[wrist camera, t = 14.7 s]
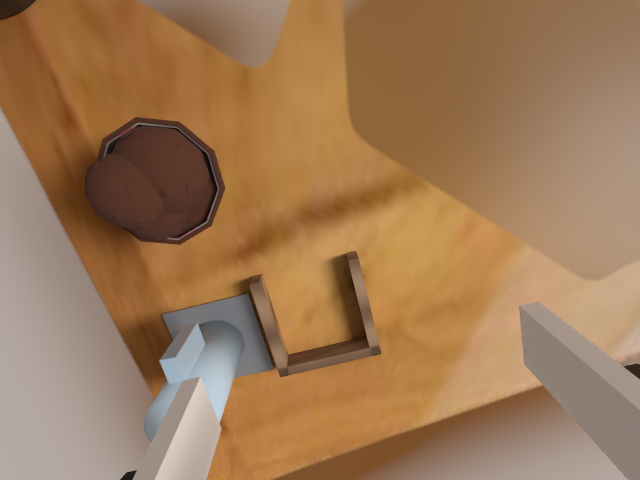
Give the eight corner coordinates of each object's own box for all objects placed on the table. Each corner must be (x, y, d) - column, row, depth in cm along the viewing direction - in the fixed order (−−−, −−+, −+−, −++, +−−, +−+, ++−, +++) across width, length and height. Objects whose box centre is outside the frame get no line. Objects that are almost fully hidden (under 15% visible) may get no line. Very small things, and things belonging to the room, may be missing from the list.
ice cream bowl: (204, 238, 43) (151, 293, 29) (122, 173, 41) (19, 199, 26) (262, 169, 41) (236, 191, 26) (179, 96, 38) (100, 79, 24)
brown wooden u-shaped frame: (252, 276, 44) (249, 285, 42) (356, 251, 44) (358, 258, 41) (281, 364, 48) (280, 377, 46) (377, 342, 48) (381, 353, 45)
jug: (202, 369, 48) (158, 462, 34) (179, 307, 45) (121, 382, 32) (250, 359, 47) (224, 449, 34) (229, 296, 45) (193, 366, 31)
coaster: (162, 313, 46) (162, 314, 45) (248, 292, 45) (248, 293, 45) (193, 386, 49) (193, 387, 49) (273, 367, 48) (273, 368, 48)
